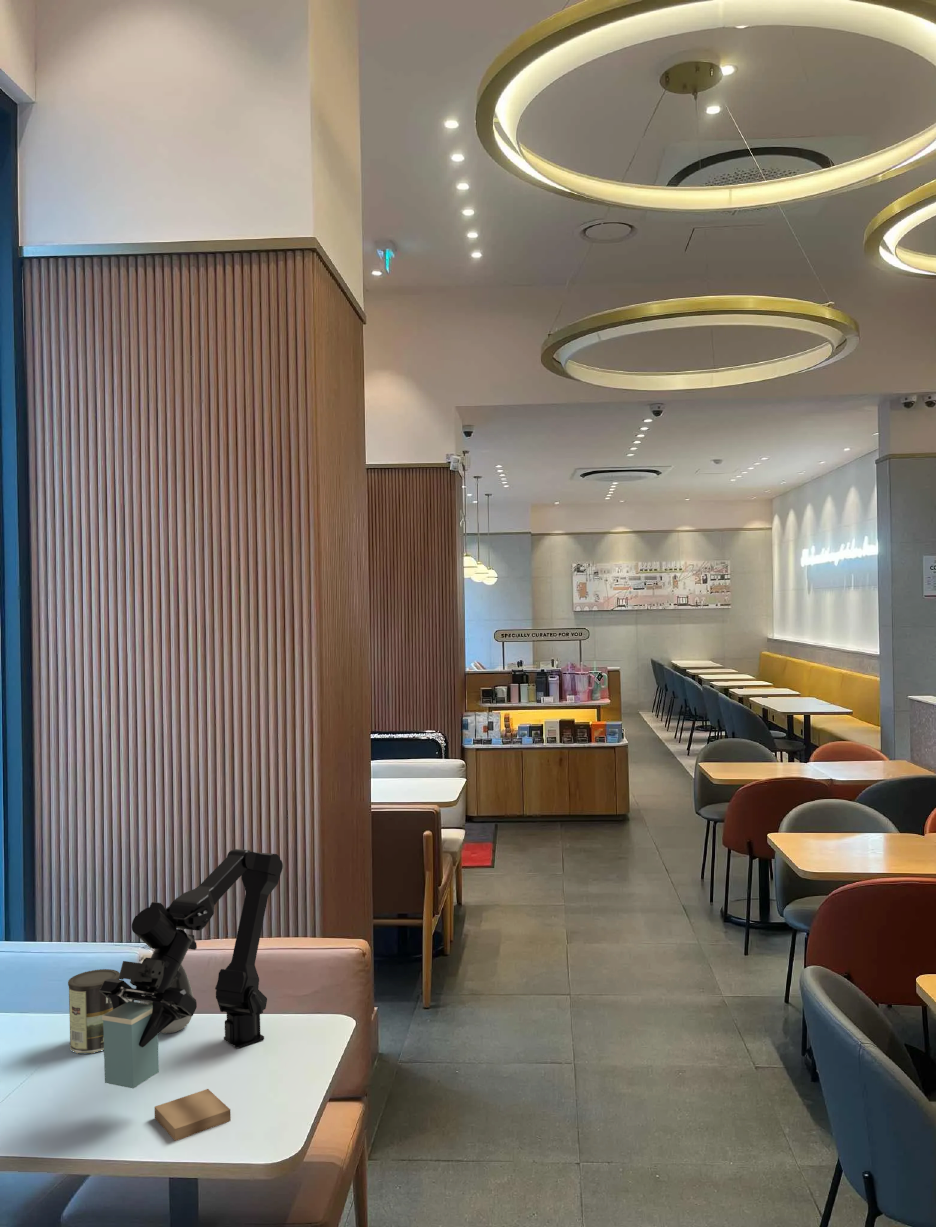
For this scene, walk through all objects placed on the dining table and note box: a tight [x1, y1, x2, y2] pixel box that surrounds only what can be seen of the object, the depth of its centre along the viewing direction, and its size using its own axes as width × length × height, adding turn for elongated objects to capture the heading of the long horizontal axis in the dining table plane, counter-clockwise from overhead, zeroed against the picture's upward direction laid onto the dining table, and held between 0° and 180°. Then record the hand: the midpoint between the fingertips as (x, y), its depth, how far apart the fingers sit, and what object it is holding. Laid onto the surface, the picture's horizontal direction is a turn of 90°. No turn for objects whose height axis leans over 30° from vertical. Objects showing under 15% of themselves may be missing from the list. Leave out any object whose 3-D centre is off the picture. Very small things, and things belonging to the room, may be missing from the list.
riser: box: [154, 1088, 232, 1142], centre depth 166 cm, size 10×10×2 cm
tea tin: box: [102, 1001, 160, 1089], centre depth 168 cm, size 7×7×12 cm
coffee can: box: [67, 968, 120, 1054], centre depth 199 cm, size 10×10×14 cm
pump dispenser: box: [146, 963, 194, 1034], centre depth 206 cm, size 10×10×15 cm
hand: (125, 1043), depth 167 cm, fingers closed on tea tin, 6 cm apart
